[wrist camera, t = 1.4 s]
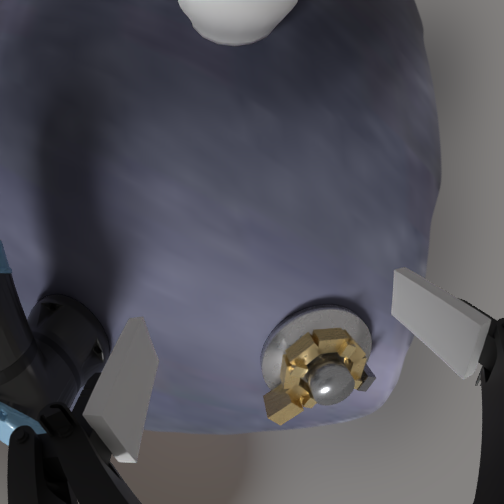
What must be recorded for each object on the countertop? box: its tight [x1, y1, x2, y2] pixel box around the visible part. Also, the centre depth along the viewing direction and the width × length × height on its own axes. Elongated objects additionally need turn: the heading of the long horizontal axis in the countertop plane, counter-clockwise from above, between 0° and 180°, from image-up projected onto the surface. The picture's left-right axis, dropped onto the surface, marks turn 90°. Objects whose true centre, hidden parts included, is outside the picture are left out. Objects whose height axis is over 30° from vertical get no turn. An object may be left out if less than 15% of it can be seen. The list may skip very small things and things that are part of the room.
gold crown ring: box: [263, 328, 367, 425], centre depth 38 cm, size 17×12×5 cm
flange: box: [261, 304, 376, 405], centre depth 38 cm, size 18×18×9 cm
